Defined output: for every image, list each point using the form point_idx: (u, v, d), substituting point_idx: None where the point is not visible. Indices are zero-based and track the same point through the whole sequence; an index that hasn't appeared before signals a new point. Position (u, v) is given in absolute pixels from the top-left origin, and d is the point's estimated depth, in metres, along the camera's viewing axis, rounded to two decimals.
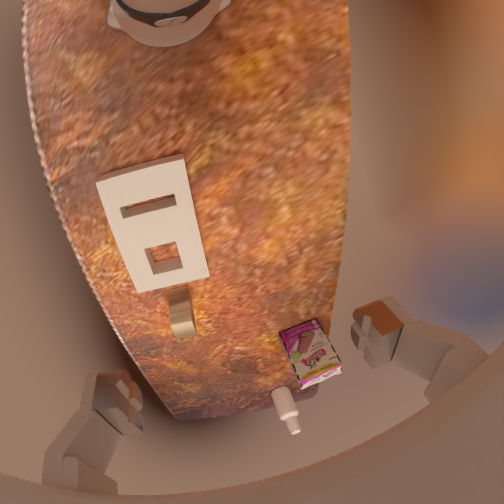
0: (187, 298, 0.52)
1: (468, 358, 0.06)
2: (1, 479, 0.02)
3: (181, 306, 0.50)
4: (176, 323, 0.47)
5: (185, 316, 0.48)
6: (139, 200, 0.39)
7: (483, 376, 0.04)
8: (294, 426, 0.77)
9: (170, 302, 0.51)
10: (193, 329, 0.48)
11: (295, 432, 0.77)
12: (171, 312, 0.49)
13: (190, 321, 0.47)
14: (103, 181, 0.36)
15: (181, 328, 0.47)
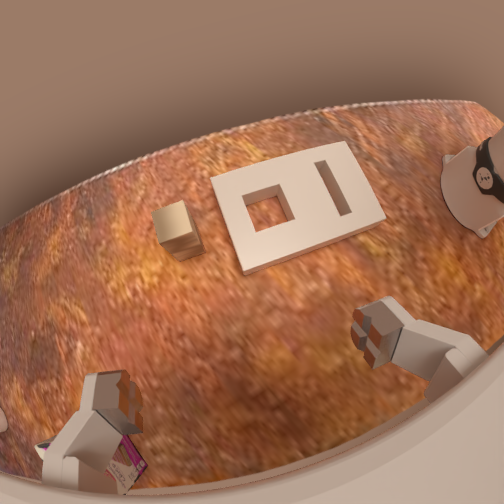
0: (200, 243, 0.36)
1: (468, 358, 0.06)
2: (1, 479, 0.02)
3: (195, 230, 0.34)
4: (185, 209, 0.31)
5: (192, 226, 0.31)
6: (337, 178, 0.38)
7: (483, 376, 0.04)
8: None
9: (193, 220, 0.36)
10: (170, 235, 0.30)
11: None
12: (189, 213, 0.34)
13: (190, 229, 0.30)
14: (347, 147, 0.40)
15: (176, 216, 0.30)
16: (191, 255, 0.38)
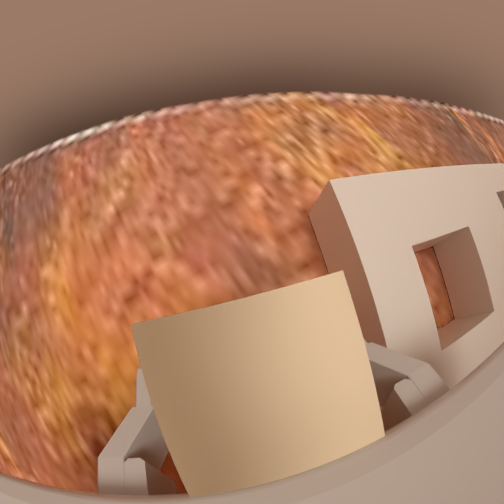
0: None
1: (422, 391, 0.05)
2: (1, 479, 0.02)
3: None
4: None
5: None
6: None
7: (483, 376, 0.04)
8: None
9: None
10: None
11: None
12: None
13: None
14: None
15: (303, 377, 0.04)
16: None
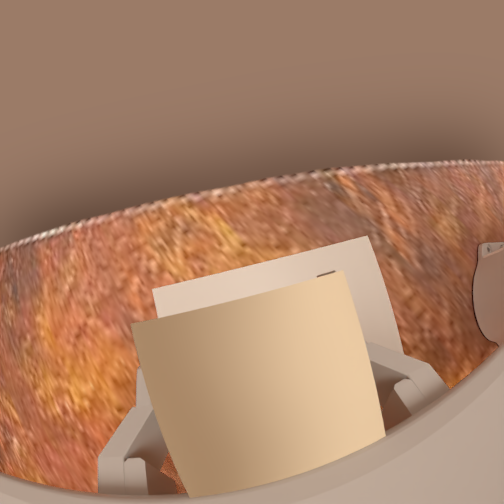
0: None
1: (422, 391, 0.05)
2: (1, 479, 0.02)
3: None
4: None
5: None
6: None
7: (483, 376, 0.04)
8: None
9: None
10: None
11: None
12: None
13: None
14: (370, 247, 0.27)
15: (304, 378, 0.04)
16: None
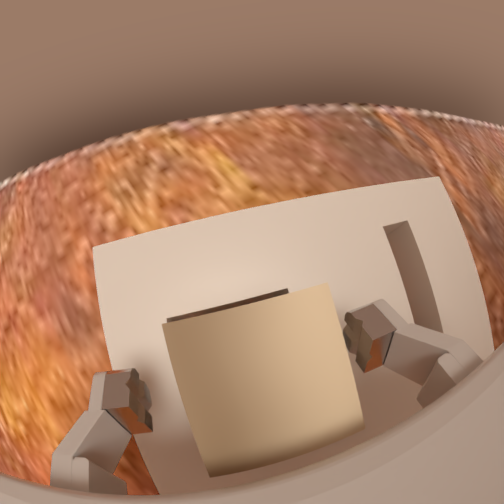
0: None
1: (461, 363, 0.06)
2: (1, 479, 0.02)
3: None
4: None
5: None
6: (431, 275, 0.13)
7: (483, 376, 0.04)
8: None
9: None
10: (268, 452, 0.05)
11: None
12: None
13: (357, 422, 0.06)
14: (445, 192, 0.15)
15: (295, 365, 0.06)
16: None
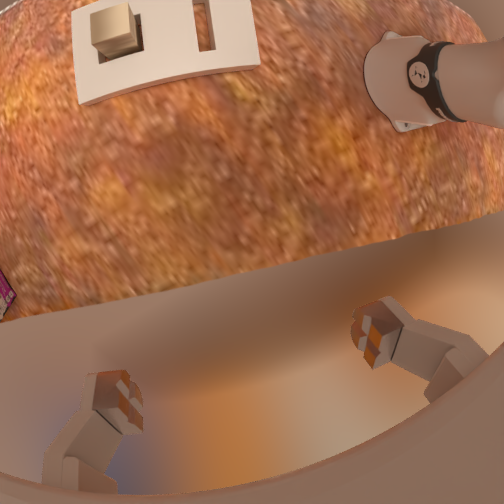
0: (138, 44, 0.23)
1: (468, 358, 0.06)
2: (1, 479, 0.02)
3: (135, 31, 0.21)
4: (128, 10, 0.16)
5: (131, 28, 0.18)
6: (212, 12, 0.23)
7: (483, 376, 0.04)
8: None
9: (135, 21, 0.21)
10: (105, 36, 0.17)
11: None
12: (132, 14, 0.19)
13: (128, 30, 0.17)
14: None
15: (115, 17, 0.16)
16: None
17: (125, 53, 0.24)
